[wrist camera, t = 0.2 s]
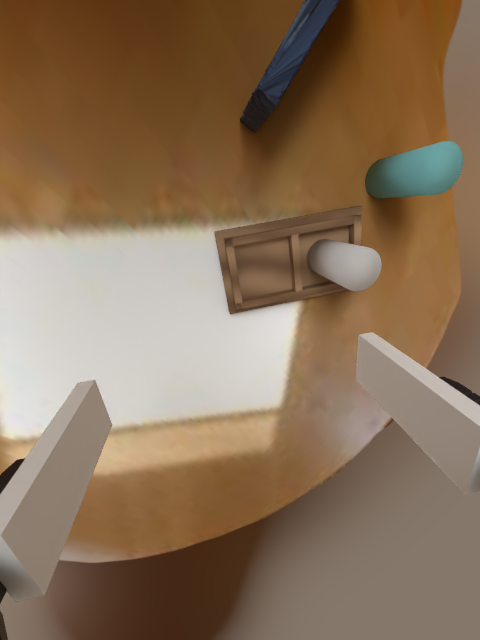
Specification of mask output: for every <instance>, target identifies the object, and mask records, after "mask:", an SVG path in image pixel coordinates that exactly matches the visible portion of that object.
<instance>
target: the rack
mask: <svg viewBox="0 0 480 640" xmlns="http://www.w3.org/2000/svg"><path fill="white" fill-rule="evenodd" d="M215 237H216V242H217V248H218V253H219V259H220V264H221V269H222V275H223V280H224V286H225V291H226V296H227V302H228V307H229V312H230V314H233V313H237V312H242V311H247V310H252V309H257V308H262V307H267V306H272V305H277V304H282V303H287V302H292V301H297V300H302V299H307V298H312V297H317V296H322V295H327V294H332V293H337V292H342V291H346V290H349V289H347V288H345V287H343V286H341V285H339V284H337V283H335V282H333V281H331V280H329V279H327V278H325V277H323V276H321V275H319V274H317V273H316V272H314V271H312V270H311V269H310V268H309V266H308V264H307V253H308V250H309V248H310V247H311V246H312V245H313V244H314V243H315V242H316V241H318V240H321V239H330V240H334V241H339V242H344V243H349V244H353V245H358V246H361V243H362V206H356V207H351V208H345V209H339V210H334V211H328V212H322V213H317V214H311V215H306V216H300V217H294V218H289V219H283V220H277V221H272V222H266V223H260V224H255V225H249V226H244V227H238V228H232V229H227V230H221V231H215Z"/></svg>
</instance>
